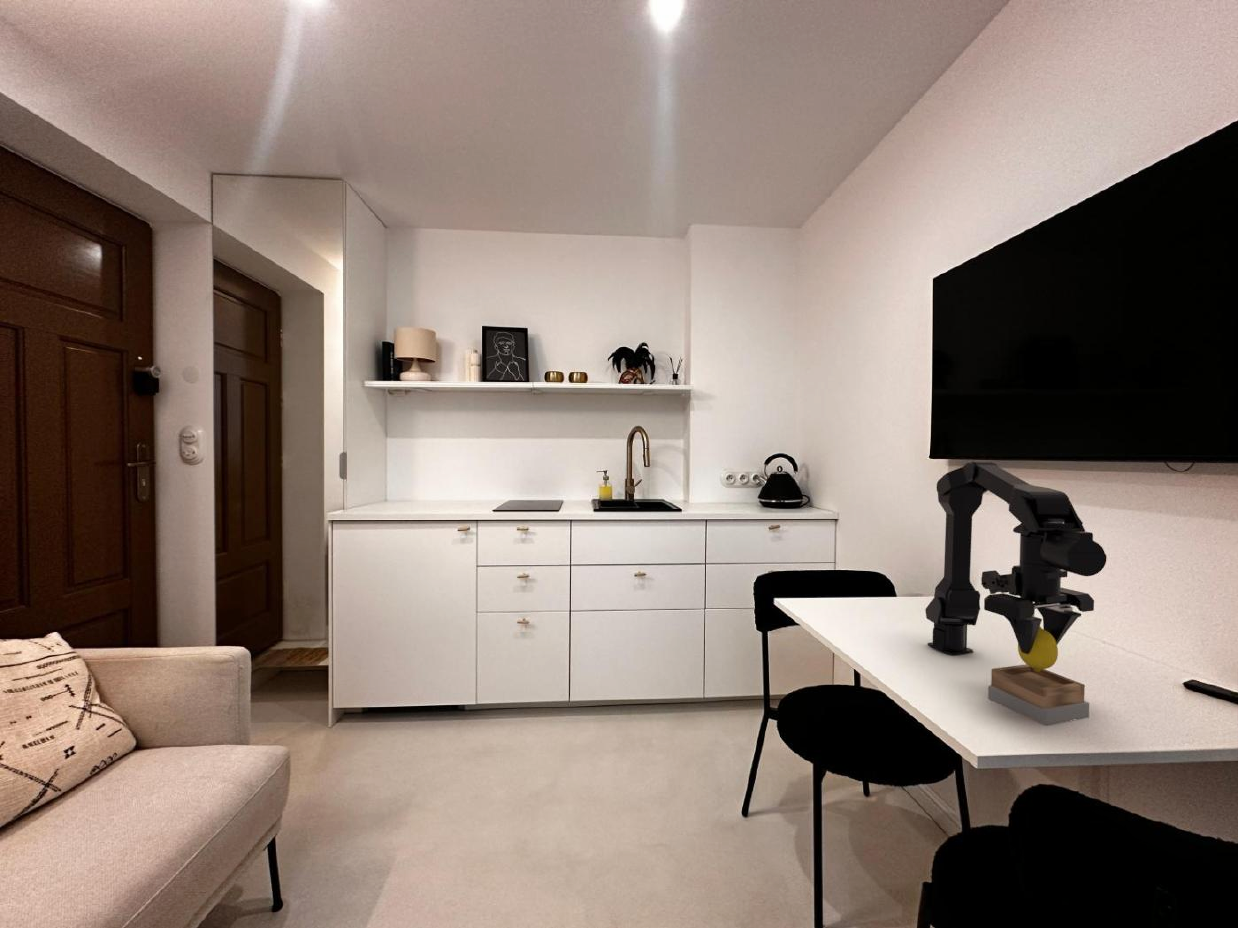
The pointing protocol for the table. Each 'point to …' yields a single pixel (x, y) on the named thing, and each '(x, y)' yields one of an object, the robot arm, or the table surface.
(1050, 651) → the lemon
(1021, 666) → the wooden tray
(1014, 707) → the bottom block
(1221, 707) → the table surface
